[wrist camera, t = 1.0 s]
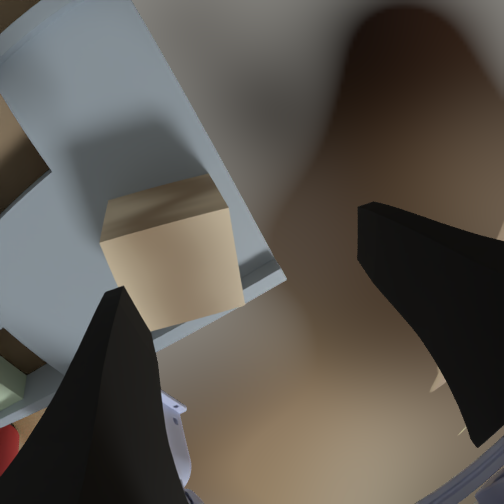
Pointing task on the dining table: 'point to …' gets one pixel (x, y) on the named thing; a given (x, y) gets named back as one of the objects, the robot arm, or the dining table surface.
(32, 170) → the dining table surface
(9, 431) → the beer can
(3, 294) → the trap box
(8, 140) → the dining table surface
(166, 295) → the block
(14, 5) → the dining table surface
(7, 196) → the dining table surface
